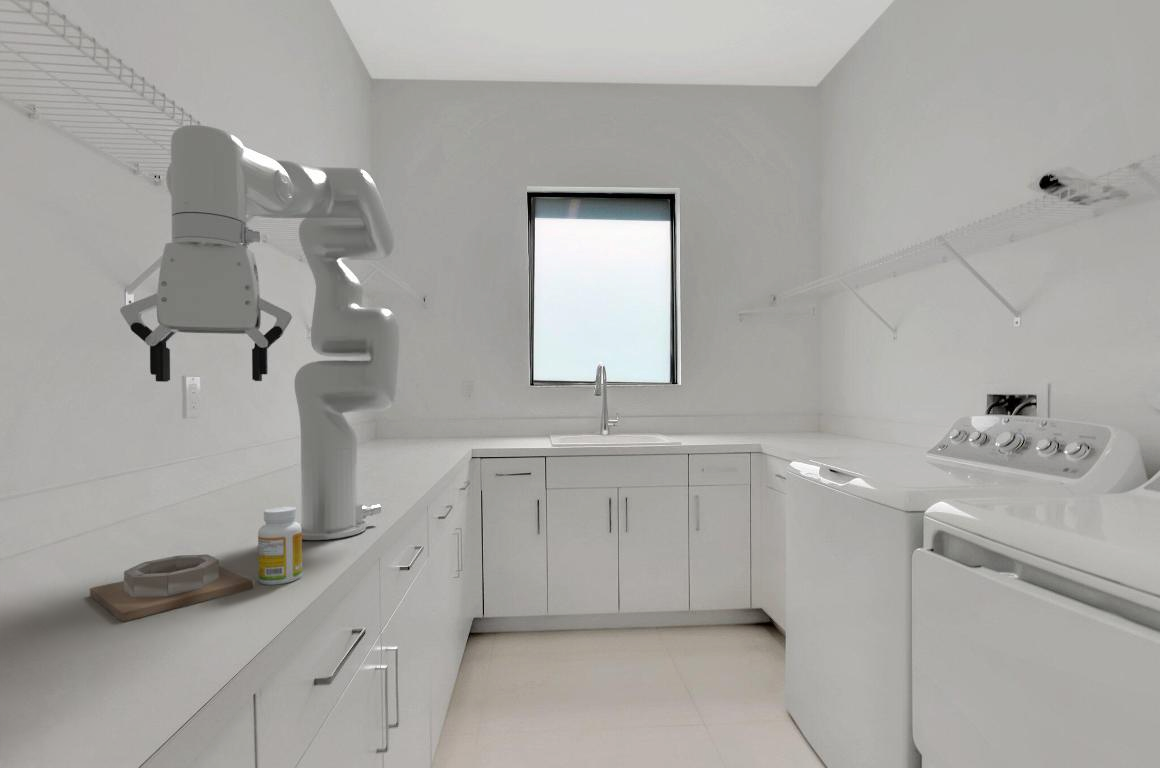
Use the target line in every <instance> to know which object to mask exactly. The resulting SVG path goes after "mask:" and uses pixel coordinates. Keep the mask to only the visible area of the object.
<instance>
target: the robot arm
mask: <svg viewBox="0 0 1160 768" xmlns="http://www.w3.org/2000/svg"><path fill="white" fill-rule="evenodd" d="M166 185H167V189H168V192H169V194H170V196H171V197H170V199H171V201H170V203H171V204H170V205H171V208H170V209H171V242H167V243H165V246H164V249H163V253H162V257H161V261H160V267H159V273H158V275H159V277H158V281H157V282H158V283H157V292H156V293H154V294H151V295H149V296H147V297H145V298H142V299H138V300H136V301H133V302H131V303H129V304H126V305H124V306H121V307H120V311H119V312H120V314H121V315H122V317H123V318H124V320H125V322H126V323H127V325H128V326H129V328H130V330H131V332H133V333H134V334H135V335H137V337H138V338H140V339H141V340H142V341H143V342H145V344H146V345H147V346H149V372H150V375H151V376H152V375H154V376H155V381H156V382H160V383H161V382H163V383H165V382H169V381H171V349H170V348H169V347H167V343H168V342H169V341H170V340H171V338H173V337H174V336H175V335H176V334H177V333H189V334H191V333H192V334H222V335H224V334H229V335H245V334H246V335H247V336H248V337H249V338H250V339H251V340H252V341H253V342H254V347H253V348H252V349H251V377H252V380H253V381H254V382H262V381H263V375H268V349H269V348H270V347H271V346H272V345H273V344H274V343H275V342H277V341H278V340H279V339H280V338H281V337H282V336H283V335H284V333H285V331H286V329H287V327H288V326H289V324H290V323H291V320H292V319H293V316H292V314H291V312H289V311H287V310H285V309H284V308H281V307H279V306H277V305H274V304H273V303H271V302H269V301H267V300H265V299H263V298H261V293H260V281H259V272H258V267H257V262H256V261H257V260H256V257H255V254H254V252H253V251H251V250H250V249H249V248H248V246H250V244H253V243H260V242H261V234H260V231H258V230H256V231H255V230H254V229H249V227H248V226H247V216H251V217H252V216H254V217H262V218H269V219H270V218H271V219H302V220H301V222H300V223H299V227H298V237H299V243H300V246H301V248H302V251H303V255H304V256H305V259H306V261H307V264H308V266H309V269H310V271H311V274H312V275H313V278H314V283H315V295H314V304H313V310H312V311H313V312H312V319H311V328H310V342H311V347H312V349H313V351H314V352H315V353H317V354H319V355H321V356H323V357H329V358H331V357H332V358H370V359H369V360H347V359H345V360H344V359H343V360H342V359H341V360H340V359H339V360H337V359H336V360H331V359H330V360H317V361H312V362H308V363H306V364H304V365H302V366H301V367H300V368H299V369H298V370H297V372H296V374H295V375H294V376H295V377H294V381H293V382H294V393H295V398H296V399H295V400H296V403H297V408H298V415H299V425H300V517H301V520H300V525H301V529H302V541H321V540H322V541H323V540H324V541H325V540H326V541H327V540H335V539H342V538H347V537H350V536H351V537H352V536H355V535H358V534H360V533H363V532H364V531H366V530H367V522H366V521H364V520H365V519H366V518H367V516H377V515H380V514H381V513H382V507H381V505H380V504H379V503H377V504H372V505H369V506H368V505H363V504H360V503H358V438H357V433H356V430H355V429H354V427H353V425H352V424H351V423H350V422H349V420H348V419H347V418H346V416H344V414H343V413H366V412H367V413H371V412H373V413H374V412H383V411H387V410H388V409H390V408H391V407H392V405H393V404H394V401H395V398H396V393H397V383H398V367H399V366H398V365H399V355H400V354H399V351H400V327H399V326H400V325H399V322H398V319H397V317H396V315H395V314H394V313H393V311H391V310H389V309H387V308H384V307H374V306H372V307H370V306H369V307H366V306H365V307H364V306H363V297H364V290H363V289H364V288H363V285H362V283H361V282H360V280H359V279H358V277H356V275H355V274H354V273H353V272H352V271H351V270H350V268H349V267H347V266H346V264H345V263H344V262H343V261H344V260H345V261H346V260H347V261H348V260H350V261H353V260H354V261H355V260H356V261H358V260H359V261H360V260H361V261H362V260H363V261H365V260H367V261H369V260H371V261H374V260H375V261H378V260H384V259H386V258H388V257H390V255H391V254H392V252H393V250H394V246H395V245H394V244H395V239H394V237H395V236H394V231H393V228H392V224H391V222H390V218H389V216H388V213H387V210H386V207H385V205H384V202H383V199H382V196H381V194H380V191H379V190H378V188H377V186H376V183H375V181H374V180H373V178H372V177H371V176H370V174H369V173H368V172H366V171H365V170H364V169H361V168H358V167H323V166H322V167H321V166H312V165H308V164H303V163H298V162H293V161H290V160H289V161H288V160H279V159H277V160H276V159H274V158H272V157H270V156H268V155H265V154H263V153H260V152H259V151H256V150H253V149H251V148H249V147H247V146H245V145H243V143H242V142H241V140H240V138H239V139H238V137H236V136H235V135H233V134H232V133H230V132H227V131H225V130H223V129H220V128H216V127H212V126H208V125H207V126H205V125H200V124H199V125H197V124H196V125H195V124H194V125H193V124H189V125H183V126H180V127H178V128H176V130H174V131H173V133H172V136H171V137H170V164H169V165H168V167H167V171H166ZM342 260H343V261H342ZM155 309H156V319H157V323H158V326H157V327H156V328H154V330H152V329H151V328H149V327H148V326H147V325H146V324H145V323H144V321H143V319H142V315H143V314H144V313H147V312H150V311H153V310H155ZM261 311H262V312H264V313H266V314H268V315H270V316H272V317H274V318H275V319H276V321H275V323H274V324H273V327H271V328H270V329H269V330H267V332H266V333H265V334H263V333H262V332H261V331H260V328H261V320H262V319H261V318H262V317H261V315H262V313H261Z"/></svg>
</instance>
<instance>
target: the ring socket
mask: <svg viewBox="0 0 1160 768" xmlns="http://www.w3.org/2000/svg"><path fill="white" fill-rule="evenodd" d="M89 589H90V590H89V596H90V597H91V598H92V599H93V600H94V601H96V602H98V604H99V605H101V606H102V607H103V608H104V609H106V610H107V611H108V612H110V613H111V614H112V615H114V616H115V617H116V618H117V619H119V620H120V621H121V622H122V623H124V622H128V621H131V620H136V619H139V618H142V617H147V616H150V615H156V614H158V613H162V611H163V612H166V610H167V611H171V610H175V609H177V608H182V607H186V606H190V605H194V604H196V603H201V602H206V601H208V600H213V599H216V598H221V597H224V596H229V595H232V594H233V595H234V594H236V593H240V592H244V591H248V590H251V589H254V580H253V579H250V578H248V577H245V576H244V575H241V574H240V573H236V572H235V571H233V570H230V569H227V568H225V567H223V566H221V565H220V564H219V558H217V557H215V556H212V555H210V554H192V555H191V554H186V555H185V554H184V555H183V554H182V555H174V556H170V557H169V556H168V557H165V558H164V557H163V558H158V559H154V560H148V561H144V562H141V563H139V564H136V565H134V566H133V567H132V566H131V567H130V568H128V569H126V570H124V571H123V580H122V581H117V582H112V583H108V584H104V585H103V584H102V585H98V586H93V587H89ZM174 608H175V609H174ZM170 609H171V610H170Z"/></svg>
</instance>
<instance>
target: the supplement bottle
mask: <svg viewBox="0 0 1160 768" xmlns="http://www.w3.org/2000/svg"><path fill="white" fill-rule="evenodd" d="M296 518H297V508H296V507H295V506H279V507H278V506H277V507H272V508H267V509H264V511H263V521H264V522H265V524H264V525H262V526H261V527H260V528H259V529H258V532H257V535H258V536H257V543H258V544H257V545H258V546H257V549H258V551H257V552H258V556H257V557H258V559H257V561H258V582H259V583H260V584H262V585H269V586H274V585H284V584H287V583H291V582H294V581H296V580H298V579H300V578H301V577H302V575H303V550H302V549H303V547H302V546H303V544H302V543H303V540H302V529H301V523H299V522H297V521H295V519H296Z"/></svg>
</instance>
